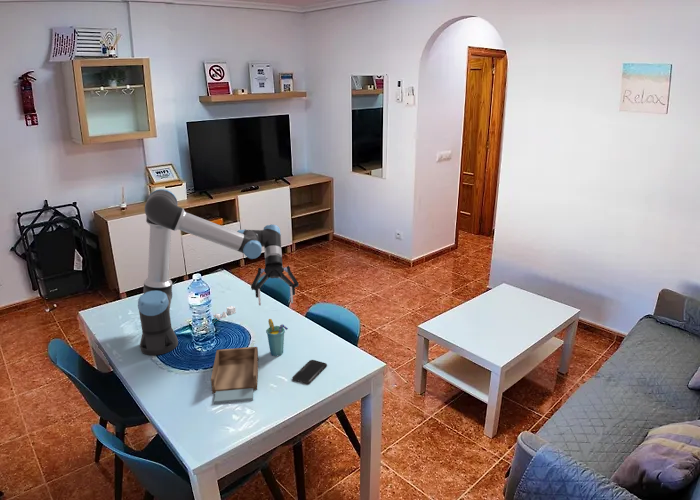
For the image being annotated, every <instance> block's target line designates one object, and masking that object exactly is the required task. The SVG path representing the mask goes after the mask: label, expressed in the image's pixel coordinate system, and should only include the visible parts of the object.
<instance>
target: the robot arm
mask: <svg viewBox="0 0 700 500" xmlns="http://www.w3.org/2000/svg"><path fill="white" fill-rule="evenodd" d="M144 214H145V216H146V219H145V221H146V222H145V223H146V224H148V225H149V241H148V242H149V243H148V267H147V278H146V279H145V280H144V281H143V293H142V294H141V295H140V296H139V297H138V300H137V308H138V309H137V310H138V313H139V320H140V326H141V331H142V332H141V338H140V342H139V349H140V352H141V353H142V354H144V355H146V356H159V355H165V354H168V353H169V352H171V351H173V350H175V349H176V348H177V347H178V345H179V340H178V336H177V335H176V333H175V331H174V329H173V328H172V321H171V312H170V311H171V303H172V300H173V281H172V280H171V278H170V264H171V263H170V262H171V247H172V246H171V245H172V243H171V242H172V231H174V232H175V231H177V230H178V231H182V232H185V233H187V234H190V235H192V236H195V237H198V238H201V239H203V240H206V241H209V242H212V243H214V244H217V245H220V246H223V247H225V248H228V249H231V250H233V251H236V252H239V253H242V254H243V255H244V256H245V257H247V258H248V259H249V260H253V259H257V258H258V257H260V256H261V254H262V251H263V249H264V265H265V266H264V268H262V267H258V268H257V273H256V275H255V277H254V278H253V281H252V283H251V285H250V289H251V291H254V292H255V293H254V294H255V298H257V299H258V306H261V304H262V301H261V299H262V298H261V288H262V286H263V285H264V284H265V283H266V282H267V280H269V278H270V279H279V278H280V279H282V281H284V282H285V283H286V284H287V285H288V286H289V292H290V304H293V303H294V297H293V296H296V288H298V287H299V283H300V282H298V279H297V278H296V277H295V275H294V274H293V272H292V271H291V267H290V265H287V266H285V267H284V266H283V253H282V236H281V235H282V234H281V229H280V227H279V226H278V225H277V224H271V223H270V224H267V225H264V227H263V229H238V230H237V231H236V230H234V229H231V228H228V227H226V226H224V225H220V224H217V222H216V223H215V222H213V221H210V220H207V219H204V218H202V217H201V216H200V217H199V216H197V215H194V214H192V213H189V212H187V211H185V209H184V208H183V207H180V206H178V198H177V197H176V195H175V193H173V192H172V191H170V190H168V189H164V188H160V189H156V190H154V191H152V192H151V193H150V194H149V195H148V197H147V200H146V202H145V204H144ZM263 247H264V248H263ZM262 248H263V249H262ZM284 272H285V273H287V275H288V277H289V278H290V279H289V278H288V277H287V276H286V275H285V274H284ZM263 273H265V274H264V276H263V277H262V278H261V275H263ZM260 278H261V280H260Z"/></svg>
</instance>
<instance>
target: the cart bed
mask: <svg viewBox="0 0 700 500" xmlns="http://www.w3.org/2000/svg"><path fill="white" fill-rule="evenodd" d="M210 377H211V378H210V383H211V391H212V394H215V393H216V391H226V390H237V389H249V388H253V390H254V391H256V390H258V377H259V351H258V346H249V347H247V346H246V347H234V348H224V349H216V352H215V357H214V362H213V366H212V372H211V376H210Z"/></svg>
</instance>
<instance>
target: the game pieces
mask: <svg viewBox="0 0 700 500" xmlns="http://www.w3.org/2000/svg"><path fill="white" fill-rule="evenodd" d="M236 313H237V312H236V306H233V305H230V306H228V307H226V311H225V310H224V311H223V312H222V314H220V313H215V314H213V316H212V317H213V318H214V317H215V318H217V319H218V321H219V319H220V320H221V319H222V318H223V319H224V318H228V314H229V315H231V316H232V315H233V314H236ZM215 318H214V319H215Z"/></svg>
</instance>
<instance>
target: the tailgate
mask: <svg viewBox="0 0 700 500" xmlns="http://www.w3.org/2000/svg"><path fill="white" fill-rule="evenodd" d="M254 391H255V390H253V388H249V389H237V390H226V391H216V393H214V394H215V395H214V400H213V403H214V405H215V404H216V405H217V404H227V403H235V402H236V403H237V402H247V401H254Z"/></svg>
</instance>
